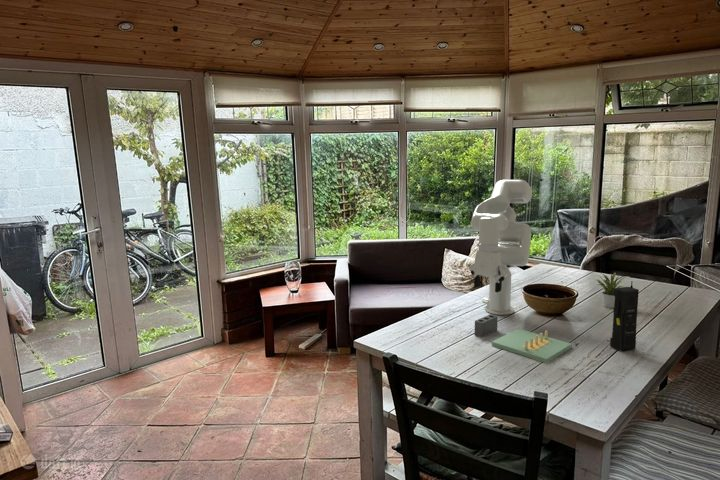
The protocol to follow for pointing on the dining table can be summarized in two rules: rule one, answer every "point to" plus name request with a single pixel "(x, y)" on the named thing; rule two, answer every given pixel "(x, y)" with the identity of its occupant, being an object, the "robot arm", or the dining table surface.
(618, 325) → the portable radio
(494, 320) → the block
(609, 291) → the house plant
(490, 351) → the dining table surface
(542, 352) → the header board
